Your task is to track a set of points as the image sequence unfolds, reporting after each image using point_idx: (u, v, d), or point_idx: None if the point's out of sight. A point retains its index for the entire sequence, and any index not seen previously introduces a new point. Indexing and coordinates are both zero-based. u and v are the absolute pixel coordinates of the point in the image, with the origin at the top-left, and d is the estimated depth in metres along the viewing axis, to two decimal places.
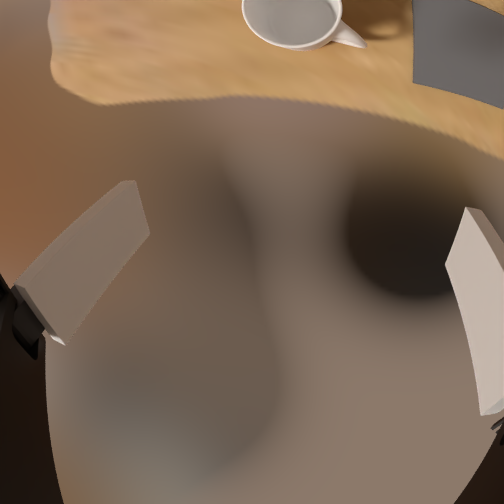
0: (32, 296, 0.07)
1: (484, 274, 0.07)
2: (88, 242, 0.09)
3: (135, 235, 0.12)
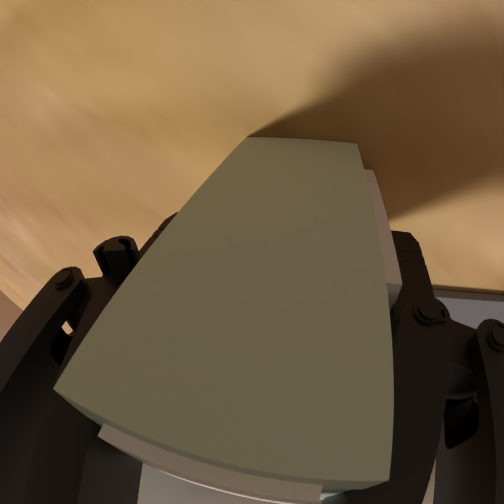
0: None
1: None
2: None
3: None
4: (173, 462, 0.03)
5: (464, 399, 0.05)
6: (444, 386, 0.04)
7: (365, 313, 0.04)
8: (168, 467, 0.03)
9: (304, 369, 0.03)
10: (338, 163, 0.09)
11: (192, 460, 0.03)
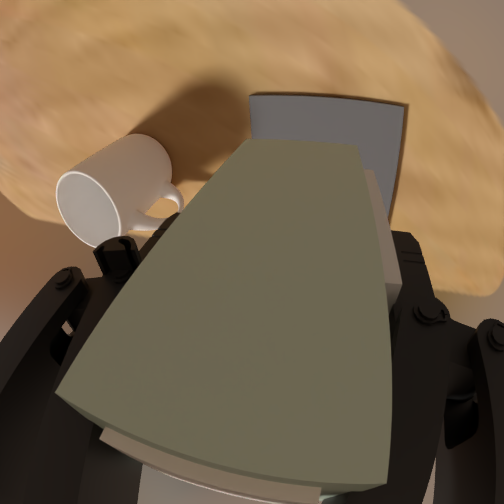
0: None
1: None
2: None
3: None
4: (174, 465, 0.03)
5: (464, 399, 0.05)
6: (444, 386, 0.04)
7: (364, 317, 0.04)
8: (169, 470, 0.03)
9: (303, 374, 0.03)
10: (338, 166, 0.09)
11: (193, 462, 0.03)
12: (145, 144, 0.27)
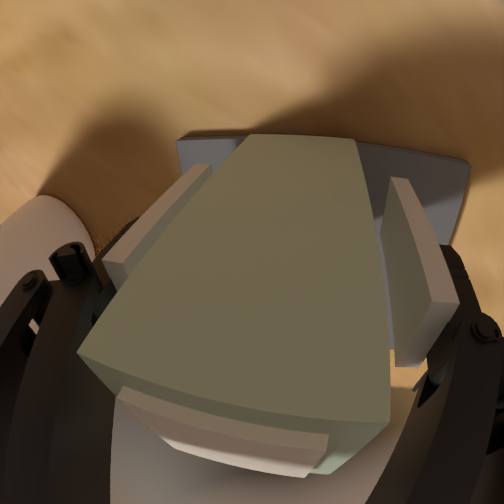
0: (128, 273, 0.07)
1: (399, 232, 0.09)
2: None
3: None
4: (189, 417, 0.04)
5: (502, 409, 0.04)
6: (494, 403, 0.03)
7: (361, 279, 0.05)
8: (185, 422, 0.04)
9: (309, 324, 0.04)
10: (336, 157, 0.09)
11: (207, 415, 0.04)
12: (46, 219, 0.16)
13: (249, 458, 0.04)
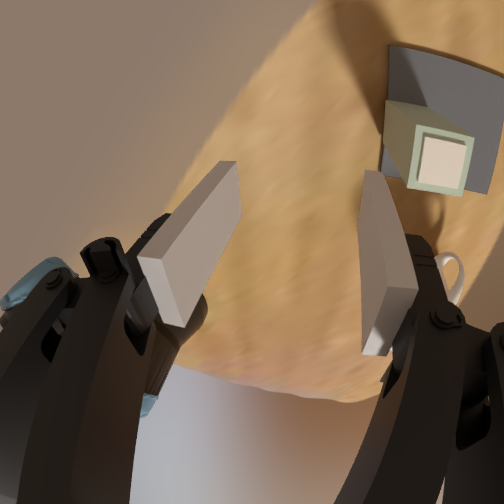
0: (166, 270, 0.07)
1: (369, 223, 0.09)
2: (208, 216, 0.10)
3: (234, 215, 0.12)
4: (420, 164, 0.16)
5: (475, 401, 0.05)
6: (459, 390, 0.04)
7: (406, 121, 0.17)
8: (420, 165, 0.16)
9: (408, 136, 0.16)
10: (390, 112, 0.21)
11: (421, 160, 0.16)
12: None
13: (443, 157, 0.15)
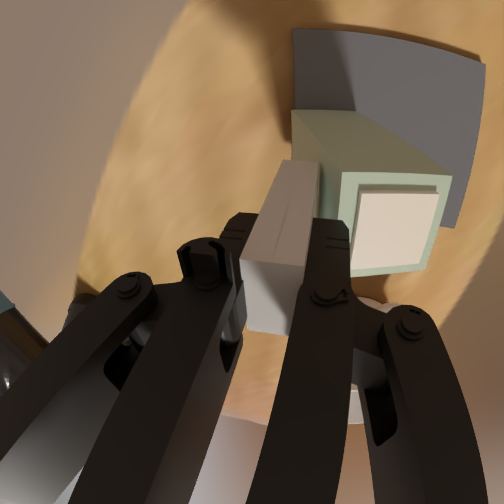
0: (272, 273, 0.07)
1: None
2: None
3: None
4: (353, 241, 0.10)
5: (390, 391, 0.06)
6: (348, 366, 0.04)
7: (323, 157, 0.11)
8: (353, 243, 0.10)
9: (328, 186, 0.10)
10: (298, 130, 0.16)
11: (355, 234, 0.10)
12: None
13: (397, 222, 0.09)
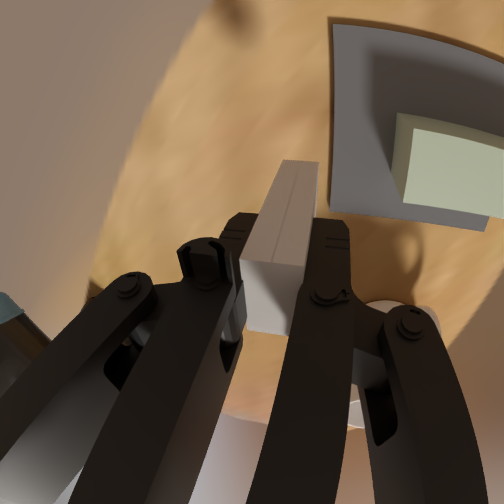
0: (272, 273, 0.07)
1: None
2: None
3: None
4: None
5: (390, 391, 0.06)
6: (348, 367, 0.04)
7: None
8: None
9: None
10: (453, 150, 0.12)
11: None
12: None
13: None
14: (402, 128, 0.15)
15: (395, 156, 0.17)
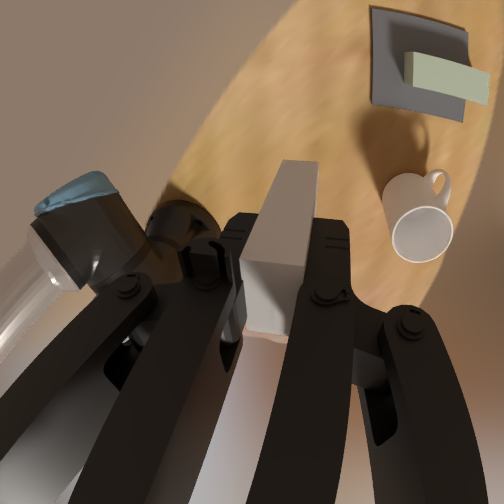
0: (272, 273, 0.07)
1: None
2: None
3: None
4: None
5: (390, 391, 0.06)
6: (348, 366, 0.04)
7: (474, 71, 0.21)
8: (487, 92, 0.23)
9: (480, 79, 0.22)
10: (433, 62, 0.23)
11: None
12: (393, 184, 0.37)
13: None
14: (408, 56, 0.25)
15: (405, 72, 0.28)
